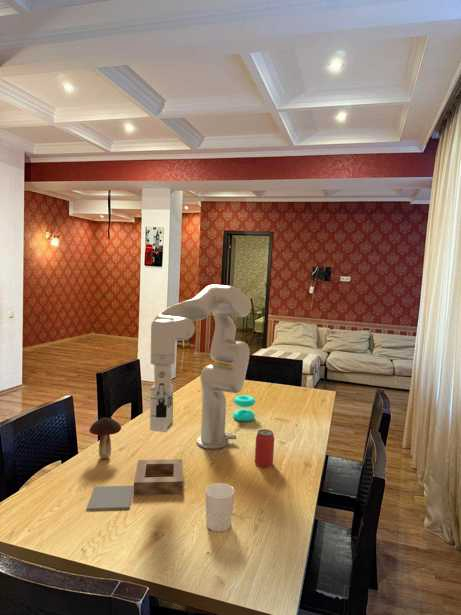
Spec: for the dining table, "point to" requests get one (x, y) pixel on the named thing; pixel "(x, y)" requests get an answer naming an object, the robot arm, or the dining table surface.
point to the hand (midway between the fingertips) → (161, 412)
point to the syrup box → (167, 421)
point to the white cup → (219, 506)
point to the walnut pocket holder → (159, 484)
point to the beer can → (264, 448)
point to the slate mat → (110, 498)
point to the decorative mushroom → (105, 434)
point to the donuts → (244, 413)
